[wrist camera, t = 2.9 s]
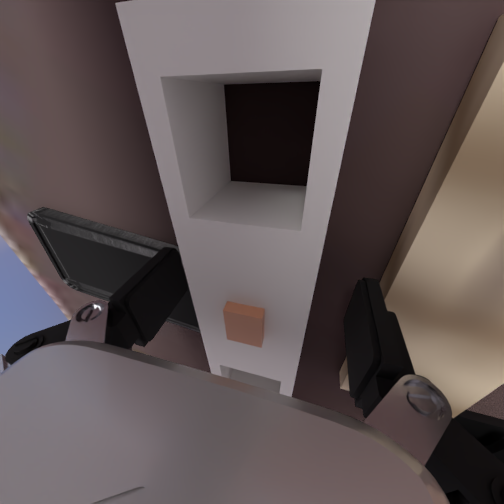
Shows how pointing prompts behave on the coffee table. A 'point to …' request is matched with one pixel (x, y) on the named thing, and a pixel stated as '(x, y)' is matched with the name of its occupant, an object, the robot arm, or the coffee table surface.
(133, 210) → the coffee table surface
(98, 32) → the coffee table surface
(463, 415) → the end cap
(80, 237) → the phone
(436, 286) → the board
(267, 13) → the white long block
